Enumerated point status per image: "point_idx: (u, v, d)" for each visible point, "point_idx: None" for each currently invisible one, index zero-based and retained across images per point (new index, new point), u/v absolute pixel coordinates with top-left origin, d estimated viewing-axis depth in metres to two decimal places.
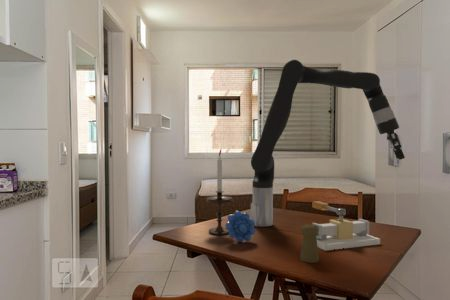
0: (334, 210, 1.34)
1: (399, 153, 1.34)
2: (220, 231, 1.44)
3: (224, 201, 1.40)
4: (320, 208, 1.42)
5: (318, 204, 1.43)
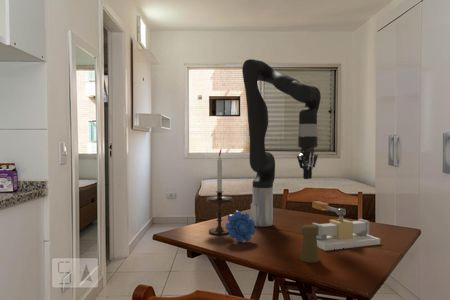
0: (334, 210, 1.34)
1: (304, 173, 1.39)
2: (220, 231, 1.44)
3: (224, 201, 1.40)
4: (320, 208, 1.42)
5: (318, 204, 1.43)
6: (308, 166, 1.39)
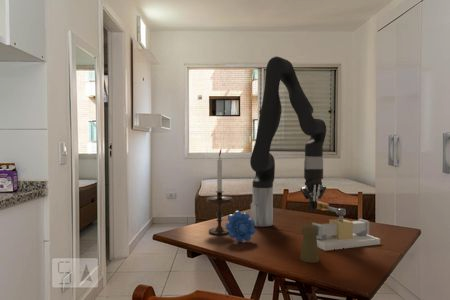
0: (334, 210, 1.34)
1: (310, 204, 1.42)
2: (220, 231, 1.44)
3: (224, 201, 1.40)
4: (320, 208, 1.42)
5: (318, 204, 1.43)
6: (313, 198, 1.41)
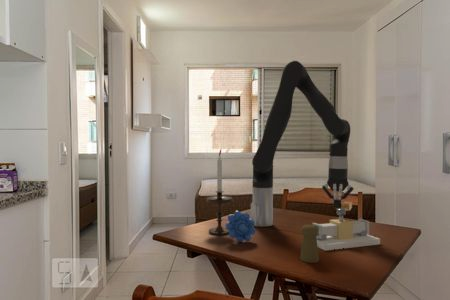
0: None
1: None
2: (220, 231, 1.44)
3: (224, 201, 1.40)
4: None
5: None
6: (335, 196, 1.44)
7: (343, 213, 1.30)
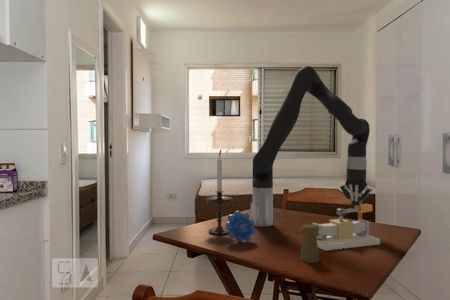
0: None
1: None
2: (220, 231, 1.44)
3: (224, 201, 1.40)
4: None
5: None
6: (351, 197, 1.42)
7: (341, 213, 1.30)
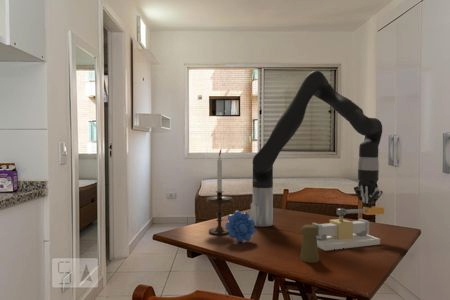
0: None
1: None
2: (220, 231, 1.44)
3: (224, 201, 1.40)
4: None
5: None
6: (363, 199, 1.38)
7: (339, 213, 1.31)
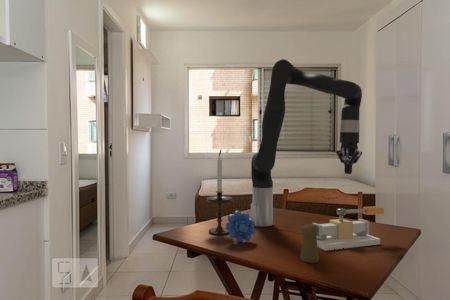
0: None
1: None
2: (220, 231, 1.44)
3: (224, 201, 1.40)
4: None
5: None
6: (344, 161, 1.44)
7: (339, 213, 1.31)
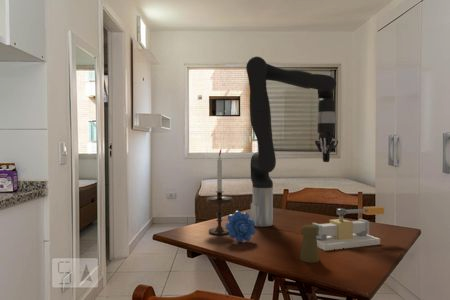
0: None
1: None
2: (220, 231, 1.44)
3: (224, 201, 1.40)
4: None
5: None
6: (322, 150, 1.54)
7: (339, 213, 1.31)
